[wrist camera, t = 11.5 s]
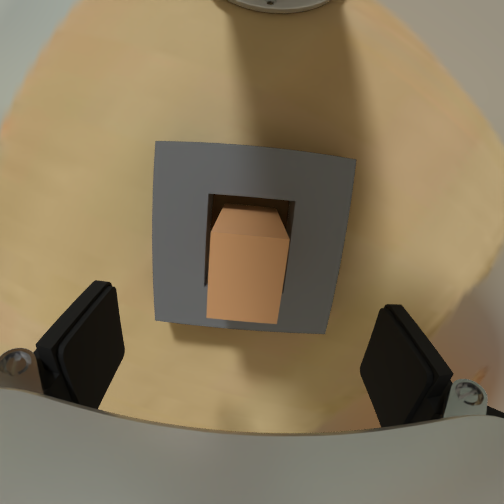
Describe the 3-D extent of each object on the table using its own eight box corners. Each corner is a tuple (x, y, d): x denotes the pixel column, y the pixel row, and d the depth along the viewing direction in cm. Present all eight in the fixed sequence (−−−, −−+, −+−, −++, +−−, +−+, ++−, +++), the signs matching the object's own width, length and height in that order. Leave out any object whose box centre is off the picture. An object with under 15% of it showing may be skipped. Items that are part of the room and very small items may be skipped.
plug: (225, 203, 24) (210, 231, 15) (275, 207, 24) (289, 239, 16) (220, 262, 26) (206, 317, 17) (268, 267, 26) (276, 324, 17)
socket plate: (166, 142, 22) (155, 141, 19) (343, 158, 23) (356, 159, 20) (164, 303, 27) (155, 320, 24) (318, 315, 27) (324, 333, 24)
